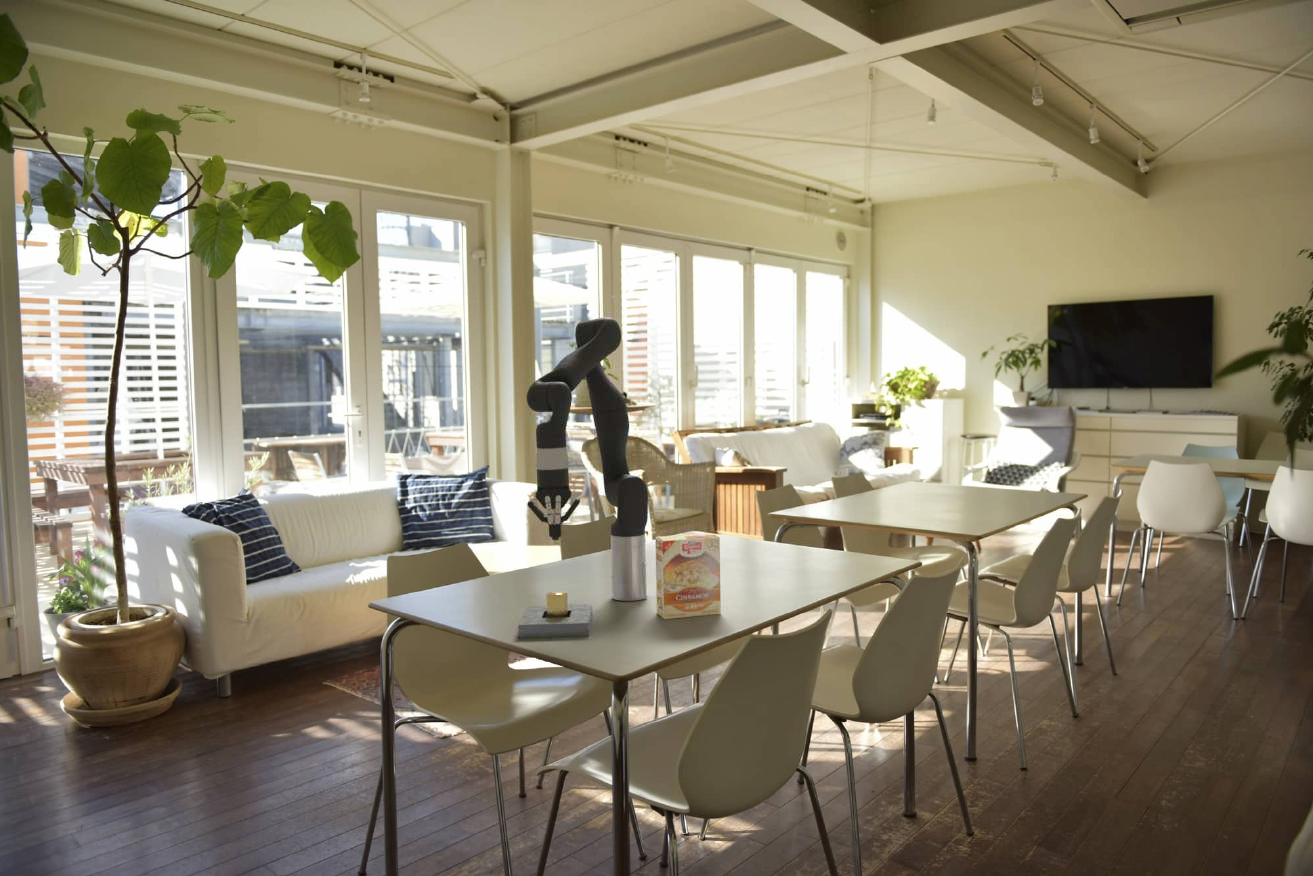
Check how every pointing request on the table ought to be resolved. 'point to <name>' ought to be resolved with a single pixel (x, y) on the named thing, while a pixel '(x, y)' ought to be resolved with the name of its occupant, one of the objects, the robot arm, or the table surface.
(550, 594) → the short tan cylinder
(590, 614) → the block
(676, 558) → the coffeecake box
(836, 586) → the table surface
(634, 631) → the table surface
